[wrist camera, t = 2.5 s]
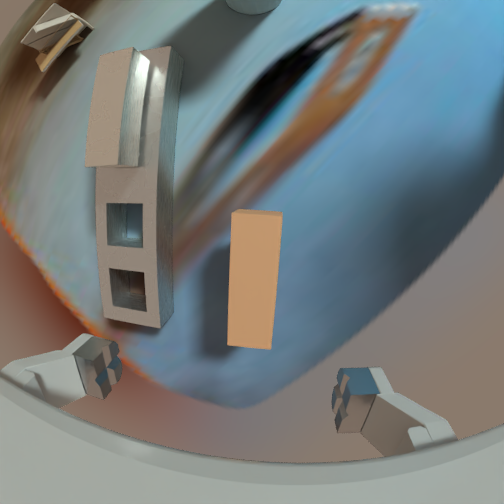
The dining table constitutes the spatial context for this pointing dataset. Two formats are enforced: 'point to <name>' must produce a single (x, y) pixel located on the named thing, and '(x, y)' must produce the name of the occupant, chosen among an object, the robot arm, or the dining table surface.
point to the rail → (135, 177)
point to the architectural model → (54, 34)
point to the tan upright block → (253, 277)
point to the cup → (253, 6)
